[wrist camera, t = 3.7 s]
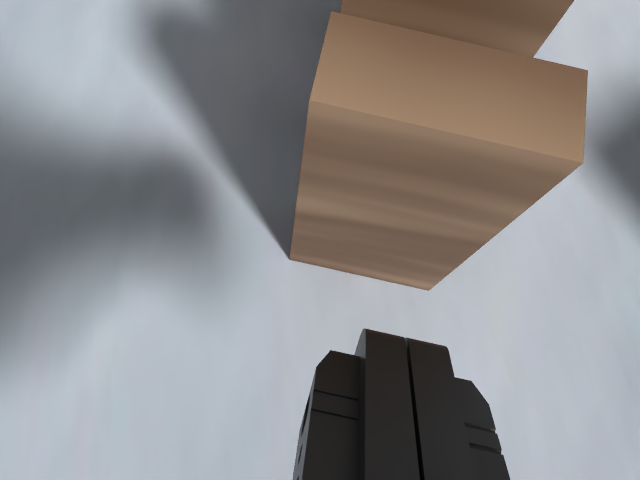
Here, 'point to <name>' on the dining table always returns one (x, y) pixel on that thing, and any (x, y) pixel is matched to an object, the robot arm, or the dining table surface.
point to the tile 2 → (470, 19)
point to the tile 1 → (426, 149)
